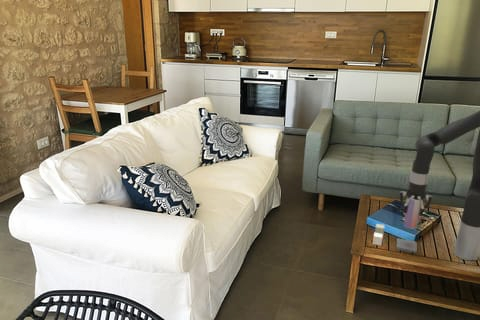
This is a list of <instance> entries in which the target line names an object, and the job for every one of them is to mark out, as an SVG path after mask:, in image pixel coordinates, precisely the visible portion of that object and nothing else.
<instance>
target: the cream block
mask: <svg viewBox="0 0 480 320" xmlns="http://www.w3.org/2000/svg"><path fill="white" fill-rule="evenodd" d="M383 237H384V233H383V234H380V233H375V231H374V232H373V237H372V245H374V246H375V245H376V246H382V242H383Z"/></svg>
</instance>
